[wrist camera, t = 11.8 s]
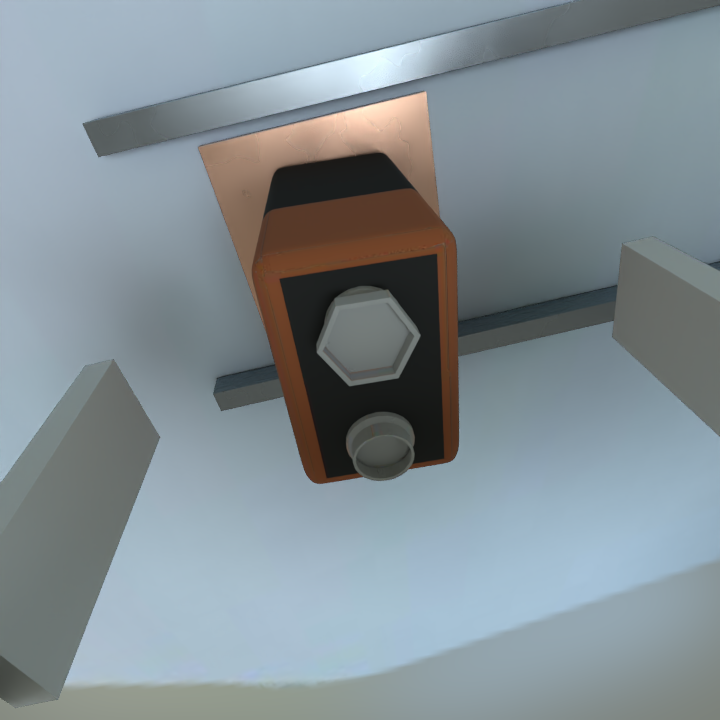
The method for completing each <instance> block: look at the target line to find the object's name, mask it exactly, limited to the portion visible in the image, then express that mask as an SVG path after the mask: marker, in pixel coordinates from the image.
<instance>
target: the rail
mask: <svg viewBox="0 0 720 720" xmlns="http://www.w3.org/2000/svg"><path fill="white" fill-rule="evenodd" d="M718 5H720V0H577V1H573V2H568V3H564V4H560V5H556V6H552V7H548V8H544V9H540V10H536V11H532V12H528V13H524V14H520V15H516V16H512V17H508V18H504V19H500V20H496V21H491V22H487V23H483V24H479V25H475V26H471V27H467V28H463V29H459V30H455V31H451V32H447V33H443V34H439V35H435V36H431V37H427V38H423V39H419V40H415V41H410V42H406V43H402V44H398V45H394V46H390V47H386V48H382V49H378V50H374V51H370V52H366V53H362V54H358V55H354V56H350V57H346V58H342V59H338V60H333V61H329V62H325V63H321V64H317V65H313V66H309V67H305V68H301V69H297V70H293V71H289V72H285V73H281V74H277V75H273V76H269V77H265V78H261V79H256V80H252V81H248V82H244V83H240V84H236V85H232V86H228V87H224V88H220V89H216V90H212V91H208V92H204V93H200V94H196V95H192V96H188V97H184V98H180V99H175V100H171V101H167V102H163V103H159V104H155V105H151V106H147V107H143V108H139V109H135V110H131V111H127V112H123V113H119V114H115V115H111V116H107V117H103V118H98V119H95V120H92V121H89V122H86V123H83V126H84V128H85V130H86V132H87V134H88V136H89V139H90V141H91V143H92V145H93V147H94V149H95V151H96V153H97V155H98V157H101V156H105V155H109V154H113V153H117V152H121V151H125V150H130V149H134V148H138V147H142V146H146V145H150V144H154V143H158V142H162V141H166V140H170V139H174V138H179V137H183V136H187V135H191V134H195V133H199V132H203V131H207V130H211V129H215V128H219V127H223V126H228V125H232V124H236V123H240V122H244V121H248V120H252V119H256V118H260V117H264V116H268V115H272V114H277V113H281V112H285V111H289V110H293V109H297V108H301V107H305V106H309V105H313V104H317V103H321V102H326V101H330V100H334V99H338V98H342V97H346V96H350V95H354V94H358V93H362V92H366V91H370V90H375V89H379V88H383V87H387V86H391V85H395V84H399V83H403V82H407V81H411V80H415V79H420V78H424V77H428V76H432V75H436V74H440V73H444V72H448V71H452V70H456V69H460V68H464V67H469V66H473V65H477V64H481V63H485V62H489V61H493V60H497V59H501V58H505V57H509V56H513V55H518V54H522V53H526V52H530V51H534V50H538V49H542V48H546V47H550V46H554V45H558V44H562V43H567V42H571V41H575V40H579V39H583V38H587V37H591V36H595V35H599V34H603V33H607V32H611V31H616V30H620V29H624V28H628V27H632V26H636V25H640V24H644V23H648V22H652V21H656V20H660V19H665V18H669V17H673V16H677V15H681V14H685V13H689V12H693V11H697V10H701V9H705V8H710V7H714V6H718ZM198 148H199V151H200V154H201V156H202V159H203V162H204V165H205V167H206V170H207V173H208V175H209V178H210V181H211V184H212V186H213V189H214V192H215V194H216V197H217V200H218V203H219V205H220V208H221V211H222V213H223V216H224V219H225V222H226V224H227V227H228V230H229V232H230V235H231V238H232V241H233V243H234V246H235V249H236V251H237V254H238V257H239V260H240V262H241V265H242V268H243V270H244V273H245V276H246V279H247V281H248V284H249V287H250V289H251V292H252V295H253V298H254V300H255V303H256V306H257V308H258V311H259V314H260V317H261V319H262V322H263V318H262V314H261V311H260V307H259V303H258V300H257V296H256V292H255V288H254V284H253V279H252V264H253V260H254V255H255V251H256V246H257V242H258V237H259V233H260V229H261V224H262V220H263V215H264V211H265V206H266V202H267V198H268V193H269V189H270V184H271V180H272V177H273V174H274V173H275V171H276V170H278V169H279V168H283V167H288V166H294V165H301V164H307V163H314V162H320V161H327V160H333V159H340V158H346V157H353V156H359V155H365V154H372V153H384V154H386V155H387V156H388V157H389V158H390V159H391V160H392V162H393V163H394V164H395V165H396V166H397V168H398V169H399V170H400V171H401V172H402V174H403V175H404V176H405V177H406V178H407V180H408V181H409V182H410V183H411V184H412V185H413V187H414V188H415V189H416V190H417V191H418V193H419V194H420V195H421V196H422V197H423V199H424V200H425V201H426V202H427V203H428V205H429V206H430V207H431V208H432V209H433V211H434V212H435V213H436V214H437V215H438V217H439V218H440V214H439V205H438V196H437V187H436V177H435V168H434V159H433V150H432V141H431V132H430V123H429V114H428V104H427V95H426V92H425V91H421V92H417V93H413V94H409V95H405V96H401V97H397V98H393V99H389V100H384V101H380V102H376V103H372V104H368V105H364V106H360V107H356V108H352V109H348V110H344V111H339V112H335V113H331V114H327V115H323V116H319V117H315V118H311V119H307V120H303V121H298V122H294V123H290V124H286V125H282V126H278V127H274V128H270V129H266V130H262V131H258V132H253V133H249V134H245V135H241V136H237V137H233V138H229V139H225V140H221V141H217V142H212V143H208V144H204V145H200V146H199V147H198ZM708 265H709V266H711V267H713V268H715V269H717V270H718V271H720V262H717V263H712V264H708ZM617 287H618V285H617V286H613V287H609V288H604V289H600V290H596V291H591V292H587V293H583V294H579V295H574V296H570V297H566V298H561V299H557V300H553V301H548V302H544V303H540V304H535V305H531V306H527V307H523V308H518V309H514V310H510V311H505V312H501V313H497V314H492V315H488V316H484V317H479V318H475V319H471V320H466V321H462V322H458V356H462V355H467V354H471V353H475V352H480V351H484V350H488V349H493V348H497V347H501V346H506V345H510V344H514V343H519V342H523V341H527V340H532V339H536V338H540V337H545V336H549V335H553V334H558V333H562V332H566V331H571V330H575V329H580V328H584V327H588V326H593V325H597V324H601V323H606V322H610V321H614V316H615V306H616V297H617ZM263 325H264V322H263ZM264 327H265V325H264ZM265 330H266V329H265ZM213 395H214V397H215V399H216V401H217V403H218V405H219V407H220V409H221V411H223V410H228V409H232V408H236V407H241V406H245V405H249V404H254V403H258V402H262V401H267V400H271V399H275V398H280V397H284V395H283V391H282V388H281V384H280V380H279V377H278V373H277V369H276V366H275V365H272V366H268V367H264V368H260V369H255V370H251V371H247V372H242V373H238V374H234V375H229V376H225V377H221V378H217V381H216V385H215V388H214V392H213Z"/></svg>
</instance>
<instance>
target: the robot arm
mask: <svg viewBox="0 0 720 720" xmlns="http://www.w3.org/2000/svg"><path fill="white" fill-rule="evenodd" d="M612 337H613V338H614V339H615V340H616V341H617V342H618V343H619V344H620V345H621V346H622V347H624V348H625V349H626V350H627V351H628V352H629V353H630V354H631V355H632V356H633V357H634V358H635V359H636V360H638V361H639V362H640V363H641V364H642V365H643V366H644V367H645V368H646V369H647V370H648V371H649V372H651V373H652V374H653V375H654V376H655V377H656V378H657V379H658V380H659V381H660V382H661V383H662V384H664V385H665V386H666V387H667V388H668V389H669V390H670V391H671V392H672V393H673V394H674V395H675V396H676V397H678V398H679V399H680V400H681V401H682V402H683V403H684V404H685V405H686V406H687V407H688V408H689V409H691V410H692V411H693V412H694V413H695V414H696V415H697V416H698V417H699V418H700V419H701V420H702V421H703V422H705V423H706V424H707V425H708V426H709V427H710V428H711V429H712V430H713V431H714V432H715V433H716V434H718V435H719V436H720V271H718V270H717V269H715V268H713V267H711V266H709V265H707V264H705V263H703V262H701V261H699V260H697V259H696V258H694V257H692V256H690V255H688V254H686V253H684V252H682V251H680V250H678V249H676V248H675V247H673V246H671V245H669V244H667V243H665V242H663V241H661V240H659V239H657V238H655V237H653V236H652V237H648V238H643V239H639V240H634V241H630V242H626V243H622V250H621V259H620V268H619V278H618V287H617V297H616V306H615V316H614V325H613V334H612ZM159 439H160V436H159V435H158V433H157V431H156V429H155V428H154V426H153V424H152V423H151V421H150V419H149V418H148V416H147V414H146V413H145V411H144V409H143V408H142V406H141V404H140V403H139V401H138V399H137V398H136V396H135V394H134V393H133V391H132V389H131V387H130V386H129V384H128V382H127V381H126V379H125V377H124V376H123V374H122V372H121V371H120V369H119V367H118V366H117V364H116V362H115V361H114V359H113V360H108V361H104V362H100V363H95V364H91V365H87V366H85V367H84V368H83V370H82V371H81V372H80V374H79V375H78V376H77V378H76V379H75V381H74V382H73V383H72V385H71V386H70V388H69V389H68V390H67V392H66V393H65V395H64V396H63V397H62V399H61V400H60V401H59V403H58V404H57V406H56V407H55V408H54V410H53V411H52V413H51V414H50V415H49V417H48V418H47V420H46V421H45V422H44V424H43V425H42V426H41V428H40V429H39V431H38V432H37V433H36V435H35V436H34V438H33V439H32V440H31V442H30V443H29V445H28V446H27V447H26V449H25V450H24V451H23V453H22V454H21V456H20V457H19V458H18V460H17V461H16V463H15V464H14V465H13V467H12V468H11V470H10V471H9V472H8V474H7V475H6V476H5V478H4V479H3V481H2V482H1V483H0V698H2V699H3V700H4V701H6V702H7V703H9V704H10V705H12V706H13V707H15V708H18V707H23V706H28V705H33V704H38V703H43V702H48V701H53V700H58V698H59V696H60V693H61V691H62V688H63V685H64V683H65V680H66V678H67V675H68V673H69V670H70V667H71V665H72V662H73V660H74V657H75V655H76V652H77V649H78V647H79V644H80V642H81V639H82V637H83V634H84V631H85V629H86V626H87V624H88V621H89V619H90V616H91V613H92V611H93V608H94V606H95V603H96V601H97V598H98V595H99V593H100V590H101V588H102V585H103V583H104V580H105V577H106V575H107V572H108V570H109V567H110V565H111V562H112V560H113V557H114V554H115V552H116V549H117V547H118V544H119V542H120V539H121V536H122V534H123V531H124V529H125V526H126V524H127V521H128V518H129V516H130V513H131V511H132V508H133V506H134V503H135V500H136V498H137V495H138V493H139V490H140V488H141V485H142V482H143V480H144V477H145V475H146V472H147V470H148V467H149V464H150V462H151V459H152V457H153V454H154V452H155V449H156V446H157V444H158V441H159Z"/></svg>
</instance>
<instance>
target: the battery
mask: <svg viewBox="0 0 720 720" xmlns="http://www.w3.org/2000/svg"><path fill="white" fill-rule="evenodd" d="M252 279H253V284H254V288H255V292H256V296H257V300H258V303H259V307H260V311H261V314H262V318H263V322H264V325H265V329H266V333H267V336H268V340H269V344H270V347H271V351H272V355H273V358H274V362H275V366H276V369H277V373H278V377H279V380H280V384H281V388H282V391H283V395H284V399H285V403H286V406H287V410H288V414H289V417H290V421H291V425H292V428H293V432H294V436H295V439H296V443H297V447H298V450H299V454H300V457H301V461H302V464H303V468H304V470H305V473H306V475H307V476H308V478H309V479H310V480H311V481H312V482H314V483H317V484H323V483H330V482H336V481H342V480H348V479H354V478H360V477H365V478H367V479H370V480H376V481H384V480H390V479H394V478H396V477H398V476H400V475H402V474H403V473H405V472H406V471H407V470H408V469H413V468H419V467H425V466H431V465H437V464H443V463H447V462H450V461H452V460H453V459H454V458H455V456H456V454H457V451H458V447H459V387H458V296H457V248H456V241H455V238H454V236H453V234H452V232H451V231H450V230H449V229H448V227H447V226H446V225H445V224H444V223H443V221H442V220H441V219H440V218H439V217H438V215H437V214H436V213H435V212H434V211H433V209H432V208H431V207H430V206H429V205H428V203H427V202H426V201H425V200H424V199H423V197H422V196H421V195H420V194H419V193H418V191H417V190H416V189H415V188H414V187H413V185H412V184H411V183H410V182H409V181H408V180H407V178H406V177H405V176H404V175H403V174H402V172H401V171H400V170H399V169H398V168H397V166H396V165H395V164H394V163H393V162H392V160H391V159H390V158H389V157H388V156H387V155H386V154H384V153H372V154H365V155H359V156H353V157H346V158H340V159H333V160H327V161H320V162H314V163H307V164H301V165H294V166H288V167H283V168H279V169H278V170H276V171H275V173H274V174H273V177H272V180H271V184H270V189H269V193H268V198H267V202H266V206H265V211H264V215H263V220H262V224H261V229H260V233H259V237H258V242H257V246H256V251H255V255H254V260H253V264H252Z"/></svg>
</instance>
